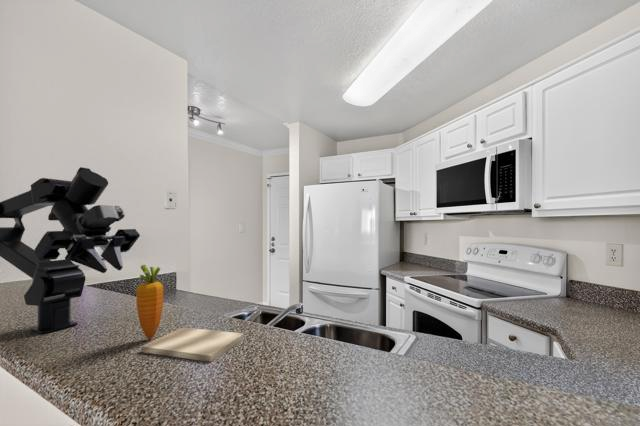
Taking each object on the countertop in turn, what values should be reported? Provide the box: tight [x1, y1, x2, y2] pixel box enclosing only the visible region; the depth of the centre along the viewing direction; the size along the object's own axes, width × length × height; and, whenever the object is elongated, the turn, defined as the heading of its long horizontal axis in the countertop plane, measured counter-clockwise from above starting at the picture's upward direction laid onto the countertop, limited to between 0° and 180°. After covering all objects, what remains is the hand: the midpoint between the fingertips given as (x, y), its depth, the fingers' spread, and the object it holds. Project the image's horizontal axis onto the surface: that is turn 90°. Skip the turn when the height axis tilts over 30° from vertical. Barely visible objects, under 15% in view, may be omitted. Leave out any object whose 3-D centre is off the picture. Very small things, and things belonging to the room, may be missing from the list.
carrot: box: [135, 264, 164, 341], centre depth 59 cm, size 5×5×15 cm
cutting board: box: [141, 326, 245, 363], centre depth 55 cm, size 15×10×1 cm, turn 72°
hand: (113, 270), depth 62 cm, fingers open, 3 cm apart
